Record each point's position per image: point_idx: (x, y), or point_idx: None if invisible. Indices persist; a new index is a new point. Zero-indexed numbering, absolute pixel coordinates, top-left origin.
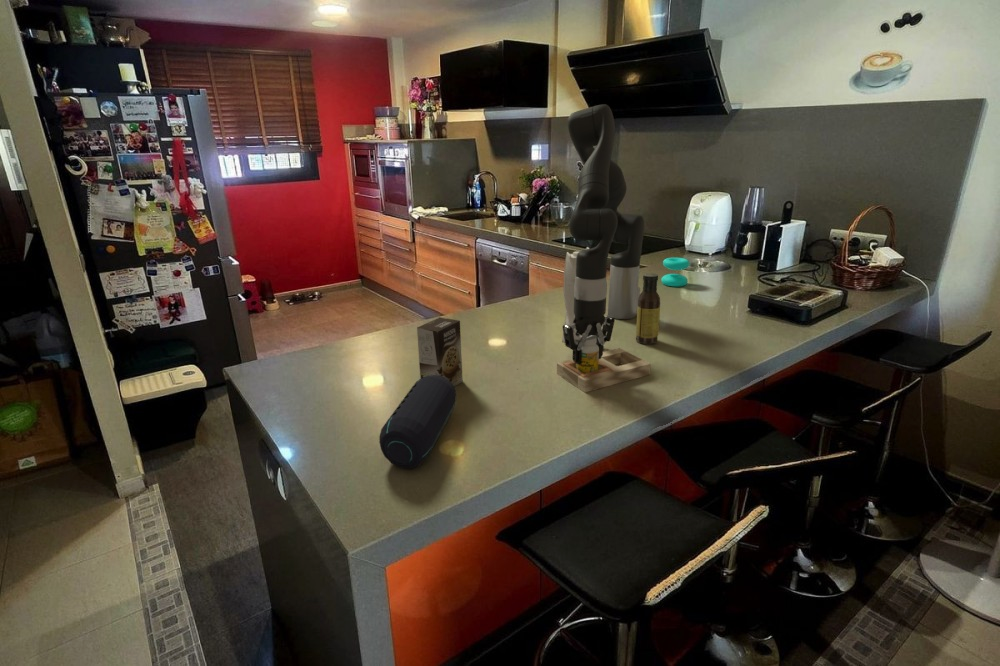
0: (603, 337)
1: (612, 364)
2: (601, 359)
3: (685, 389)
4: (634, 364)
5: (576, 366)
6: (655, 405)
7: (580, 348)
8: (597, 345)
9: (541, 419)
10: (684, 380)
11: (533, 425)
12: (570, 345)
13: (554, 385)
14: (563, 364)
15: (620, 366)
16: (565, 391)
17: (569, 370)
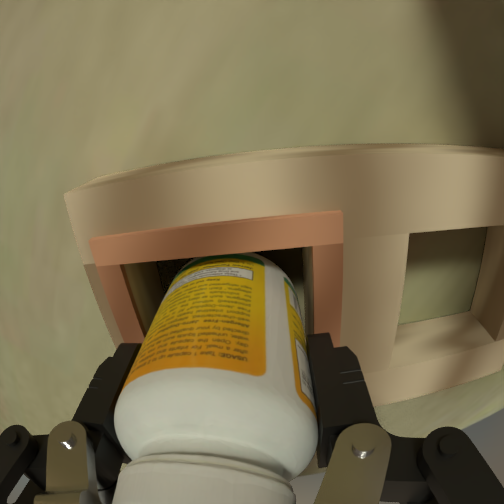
0: (396, 496)
1: (388, 345)
2: (388, 265)
3: (453, 424)
4: (461, 366)
5: (164, 297)
6: (325, 467)
7: (117, 479)
8: (295, 477)
9: (32, 410)
10: (497, 387)
11: (21, 414)
12: (33, 489)
13: (65, 289)
14: (91, 241)
15: (400, 372)
16: (97, 347)
17: (108, 323)
